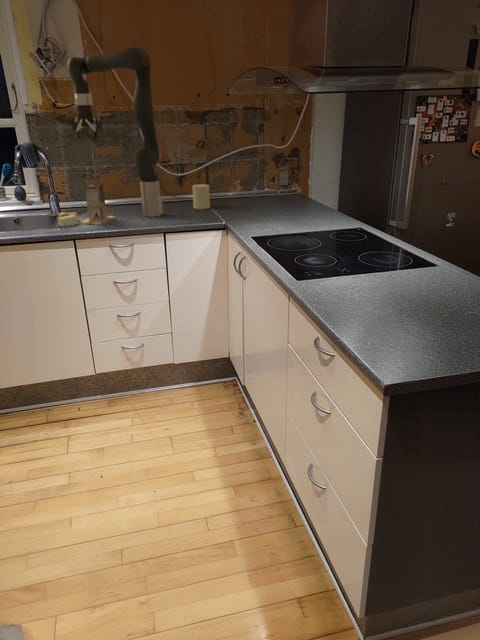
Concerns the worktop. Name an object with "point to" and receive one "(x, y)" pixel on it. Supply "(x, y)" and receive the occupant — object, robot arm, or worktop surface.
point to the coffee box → (95, 202)
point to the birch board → (106, 220)
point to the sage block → (67, 220)
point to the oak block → (66, 214)
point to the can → (201, 196)
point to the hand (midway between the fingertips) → (88, 139)
